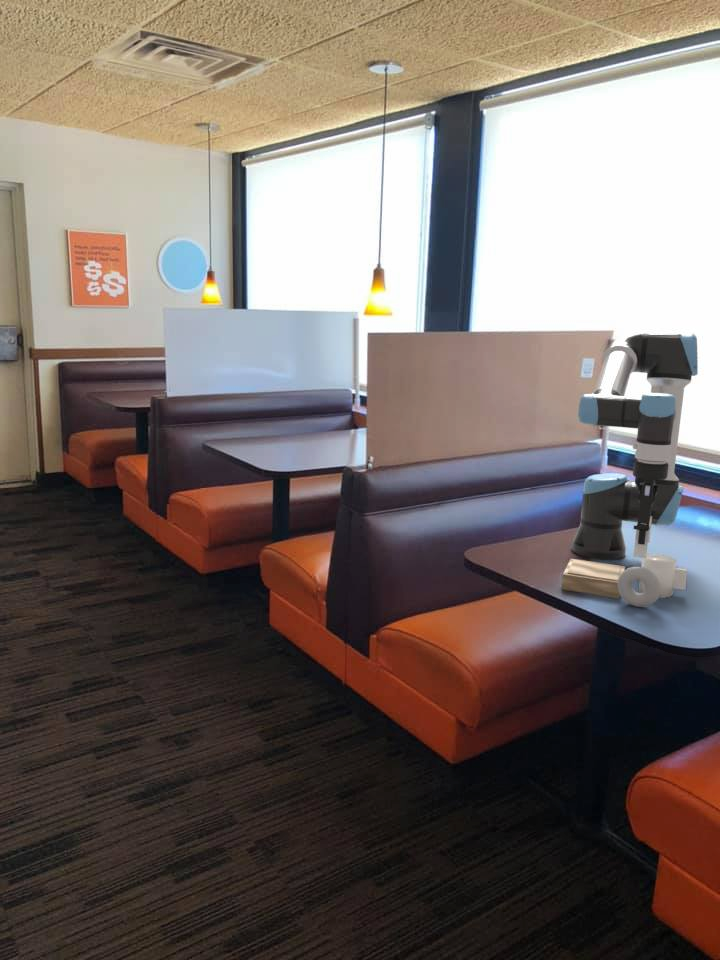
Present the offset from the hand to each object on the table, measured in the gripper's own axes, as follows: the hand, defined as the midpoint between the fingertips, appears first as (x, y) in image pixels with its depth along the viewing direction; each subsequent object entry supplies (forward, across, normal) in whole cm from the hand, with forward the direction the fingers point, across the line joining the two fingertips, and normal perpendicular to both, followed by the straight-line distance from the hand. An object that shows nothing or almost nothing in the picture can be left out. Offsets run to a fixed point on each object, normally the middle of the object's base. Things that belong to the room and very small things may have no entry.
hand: (641, 549), depth 180 cm
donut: (+15, -1, 0) cm, 15 cm away
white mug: (+14, -13, +5) cm, 20 cm away
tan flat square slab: (+14, -11, -11) cm, 21 cm away
